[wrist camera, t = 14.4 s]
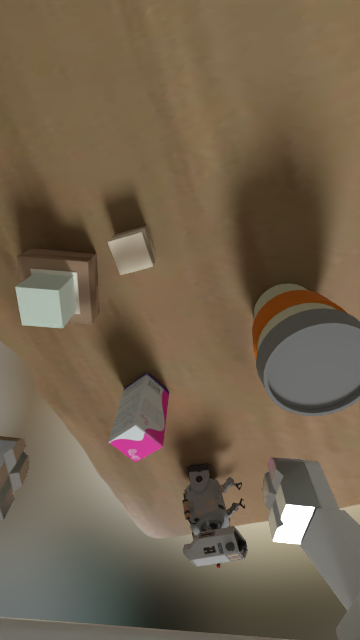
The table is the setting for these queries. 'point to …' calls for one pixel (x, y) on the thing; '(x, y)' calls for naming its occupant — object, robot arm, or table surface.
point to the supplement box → (140, 418)
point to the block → (132, 250)
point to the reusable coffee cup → (306, 351)
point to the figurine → (211, 520)
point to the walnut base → (69, 265)
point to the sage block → (46, 300)
